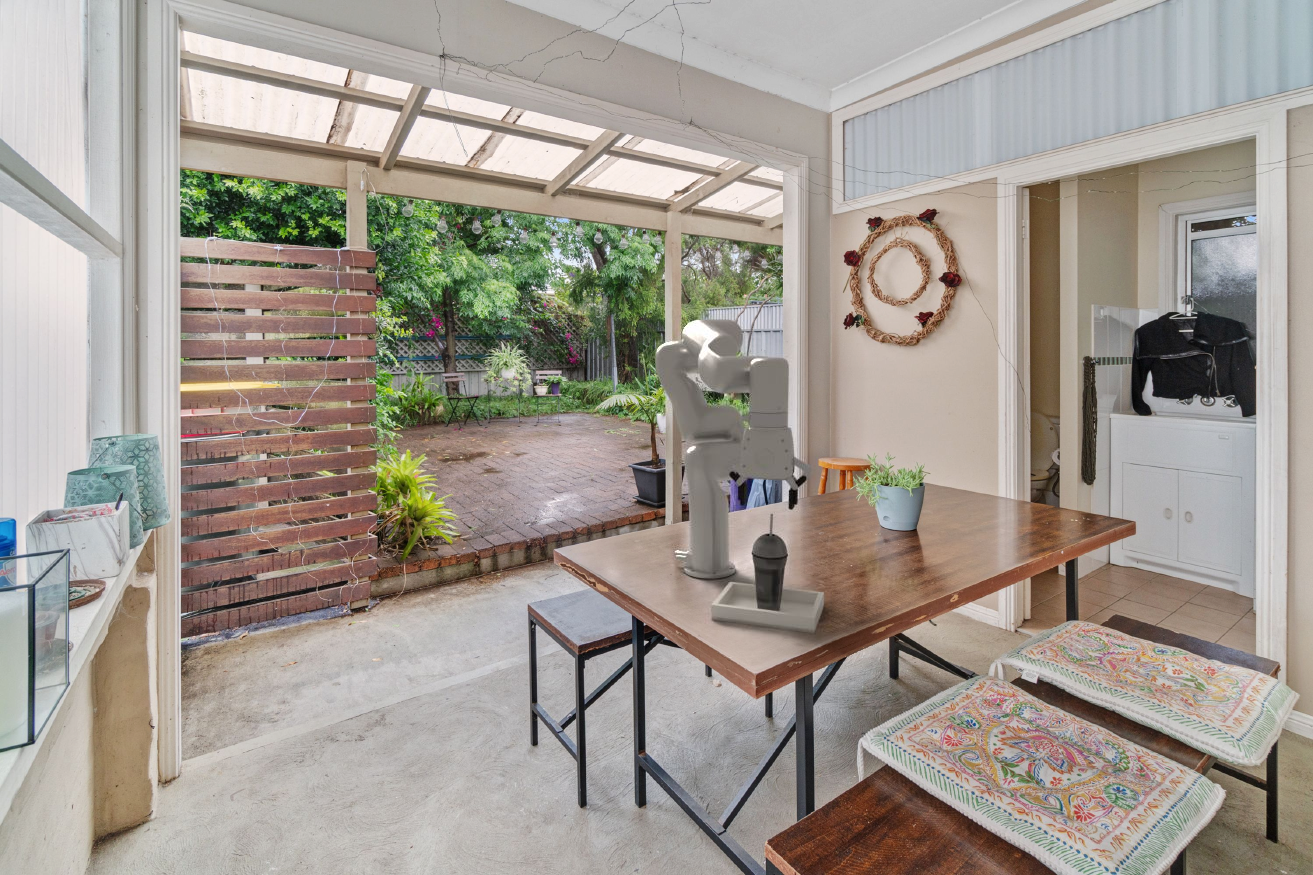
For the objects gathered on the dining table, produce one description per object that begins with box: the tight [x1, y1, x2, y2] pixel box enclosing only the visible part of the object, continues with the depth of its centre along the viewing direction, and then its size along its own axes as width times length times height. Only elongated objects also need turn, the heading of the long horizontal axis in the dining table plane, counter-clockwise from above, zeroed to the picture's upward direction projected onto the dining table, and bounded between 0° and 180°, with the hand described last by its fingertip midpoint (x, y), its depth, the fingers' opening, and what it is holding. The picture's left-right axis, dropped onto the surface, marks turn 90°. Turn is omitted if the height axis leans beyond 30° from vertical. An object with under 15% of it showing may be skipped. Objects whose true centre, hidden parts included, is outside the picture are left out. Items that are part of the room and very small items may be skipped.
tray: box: [710, 581, 825, 634], centre depth 127 cm, size 20×14×3 cm
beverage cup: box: [751, 513, 789, 611], centre depth 127 cm, size 7×7×20 cm
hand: (767, 506), depth 125 cm, fingers open, 9 cm apart
